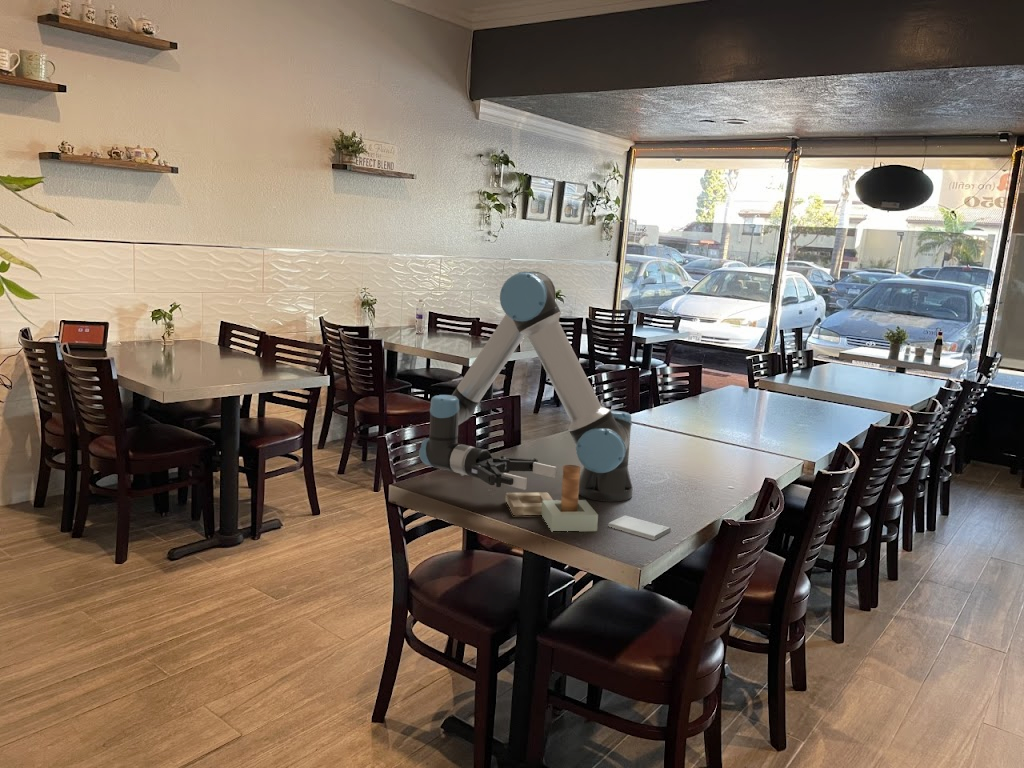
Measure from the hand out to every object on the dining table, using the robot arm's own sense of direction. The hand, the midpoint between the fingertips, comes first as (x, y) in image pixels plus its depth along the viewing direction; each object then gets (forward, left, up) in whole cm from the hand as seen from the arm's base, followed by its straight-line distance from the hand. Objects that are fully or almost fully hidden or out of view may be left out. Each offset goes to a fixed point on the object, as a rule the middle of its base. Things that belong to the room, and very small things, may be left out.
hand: (541, 478), depth 191 cm
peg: (-6, +6, -10) cm, 13 cm away
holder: (+1, -5, -10) cm, 11 cm away
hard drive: (-22, +10, -10) cm, 27 cm away
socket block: (-6, +6, -10) cm, 13 cm away
